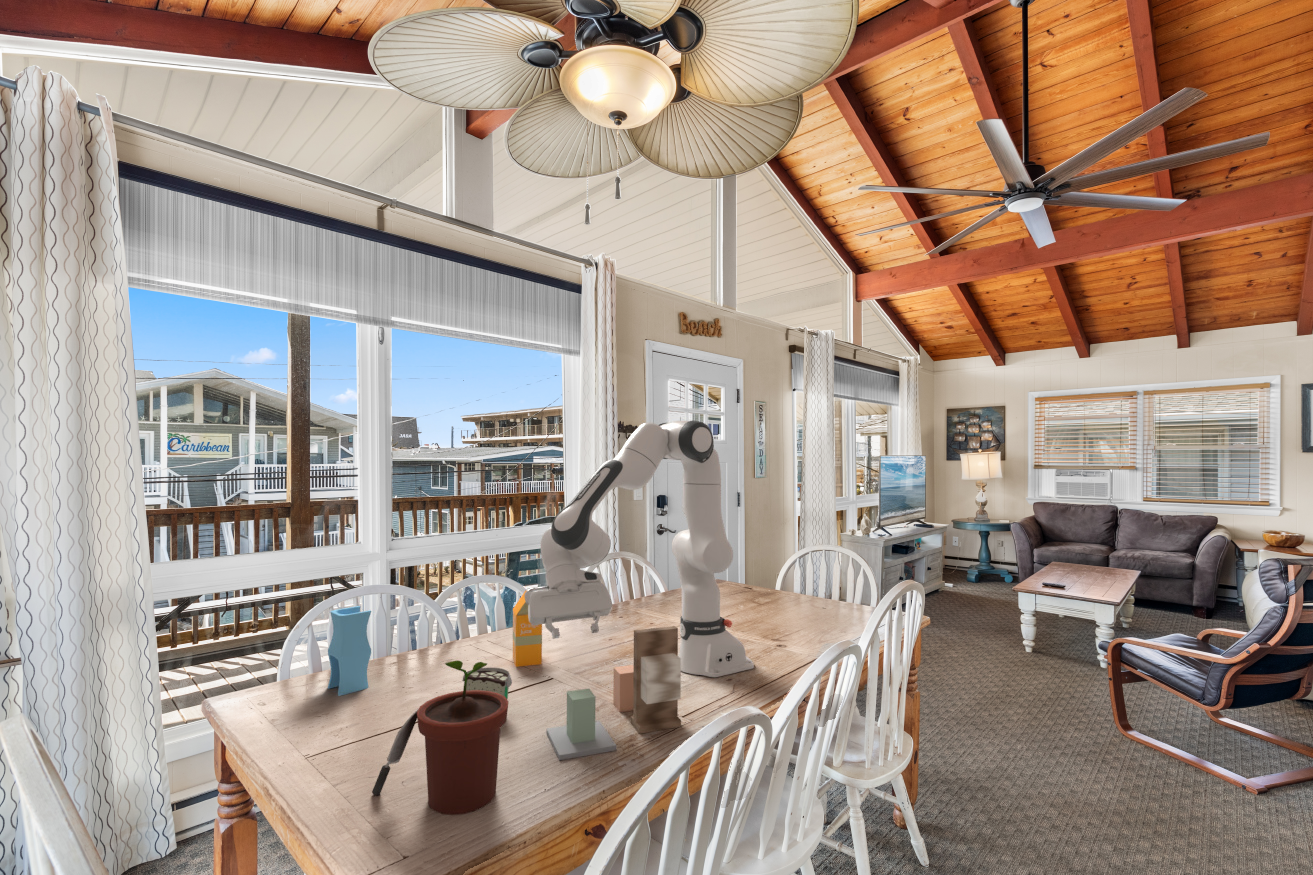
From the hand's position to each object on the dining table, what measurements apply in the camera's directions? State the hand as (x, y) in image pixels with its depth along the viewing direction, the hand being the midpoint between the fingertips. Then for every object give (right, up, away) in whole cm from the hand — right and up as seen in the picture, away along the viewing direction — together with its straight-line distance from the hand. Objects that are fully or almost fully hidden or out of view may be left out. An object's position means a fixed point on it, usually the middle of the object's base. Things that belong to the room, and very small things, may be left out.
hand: (576, 634), depth 146 cm
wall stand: (+19, -19, -5) cm, 27 cm away
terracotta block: (+12, -19, +5) cm, 23 cm away
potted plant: (-19, -18, -33) cm, 42 cm away
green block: (+3, -18, -13) cm, 22 cm away
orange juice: (-20, -20, +38) cm, 47 cm away
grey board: (+3, -19, -13) cm, 23 cm away
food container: (-20, -19, +1) cm, 28 cm away
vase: (-62, -19, +17) cm, 67 cm away
